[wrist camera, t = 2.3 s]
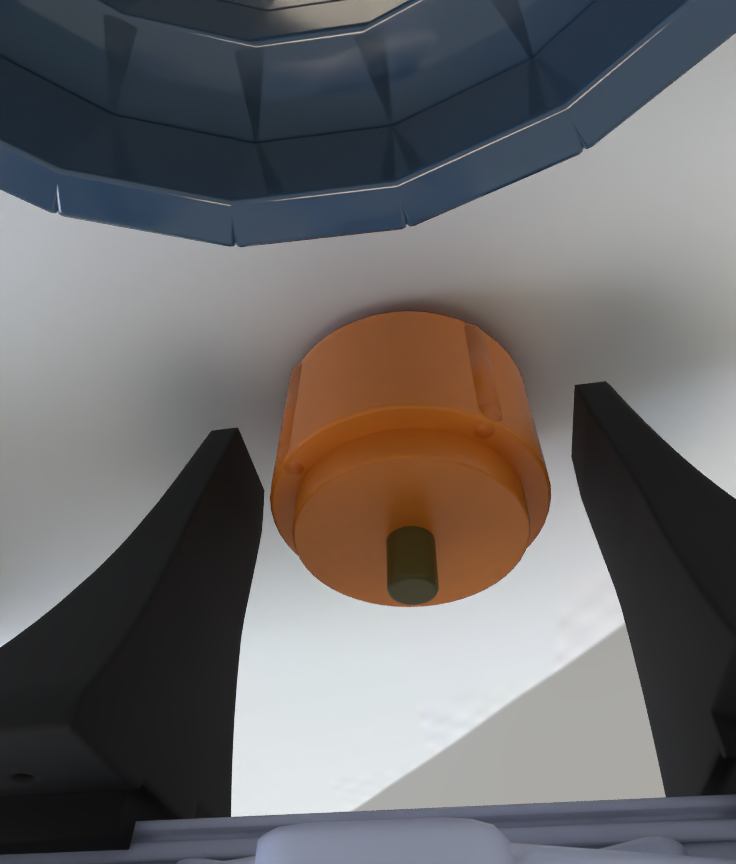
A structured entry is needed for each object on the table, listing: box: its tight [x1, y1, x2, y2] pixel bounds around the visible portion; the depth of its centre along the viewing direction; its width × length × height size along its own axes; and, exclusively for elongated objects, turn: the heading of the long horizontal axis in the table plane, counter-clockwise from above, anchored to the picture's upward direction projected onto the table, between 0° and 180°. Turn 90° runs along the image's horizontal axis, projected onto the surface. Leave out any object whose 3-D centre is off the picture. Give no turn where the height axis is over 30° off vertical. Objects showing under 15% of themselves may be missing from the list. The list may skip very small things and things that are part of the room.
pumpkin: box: [270, 311, 551, 607], centre depth 13 cm, size 6×6×5 cm
